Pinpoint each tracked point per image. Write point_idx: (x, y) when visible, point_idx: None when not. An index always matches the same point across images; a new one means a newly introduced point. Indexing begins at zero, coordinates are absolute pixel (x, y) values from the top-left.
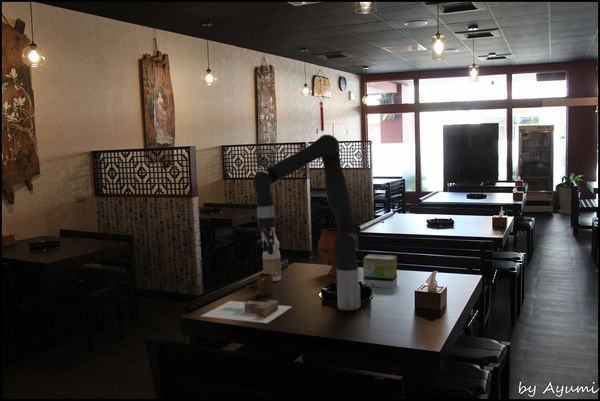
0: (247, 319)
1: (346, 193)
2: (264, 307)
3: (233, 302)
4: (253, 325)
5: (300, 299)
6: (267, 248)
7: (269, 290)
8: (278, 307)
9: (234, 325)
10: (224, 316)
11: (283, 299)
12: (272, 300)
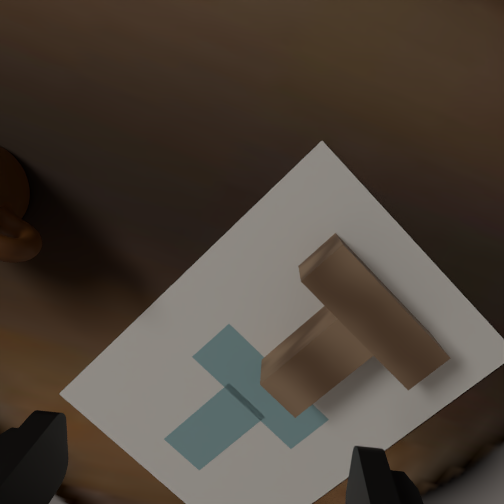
0: (407, 411)
1: None
2: (434, 356)
3: (93, 386)
4: (499, 411)
5: (192, 31)
6: (41, 450)
7: (12, 178)
8: (298, 217)
9: (447, 475)
10: (303, 479)
11: (144, 130)
12: (323, 271)
